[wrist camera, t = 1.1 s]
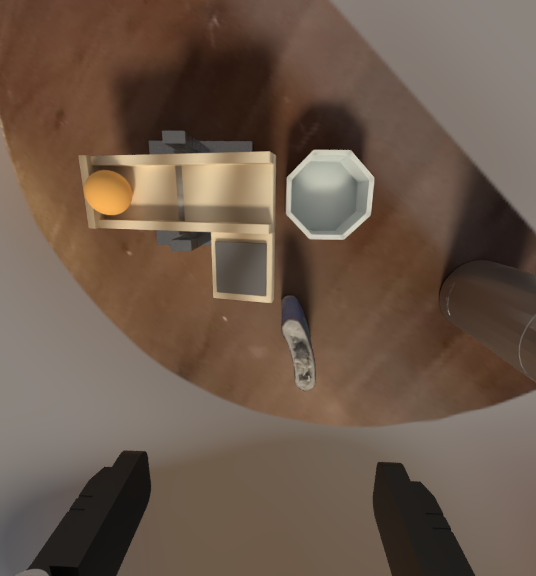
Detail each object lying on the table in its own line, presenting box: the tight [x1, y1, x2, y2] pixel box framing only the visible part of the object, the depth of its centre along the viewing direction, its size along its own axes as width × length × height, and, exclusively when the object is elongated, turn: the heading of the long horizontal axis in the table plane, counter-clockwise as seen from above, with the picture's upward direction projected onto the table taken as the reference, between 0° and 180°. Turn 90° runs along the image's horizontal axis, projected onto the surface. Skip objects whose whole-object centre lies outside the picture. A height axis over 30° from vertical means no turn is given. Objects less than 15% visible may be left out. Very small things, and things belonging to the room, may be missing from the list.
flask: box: [281, 295, 316, 391], centre depth 37 cm, size 9×3×11 cm, turn 15°
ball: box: [84, 170, 132, 215], centre depth 29 cm, size 4×4×4 cm
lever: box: [79, 150, 276, 303], centre depth 30 cm, size 18×14×3 cm
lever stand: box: [149, 131, 253, 251], centre depth 33 cm, size 12×12×11 cm
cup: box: [285, 150, 374, 240], centre depth 35 cm, size 9×9×6 cm
